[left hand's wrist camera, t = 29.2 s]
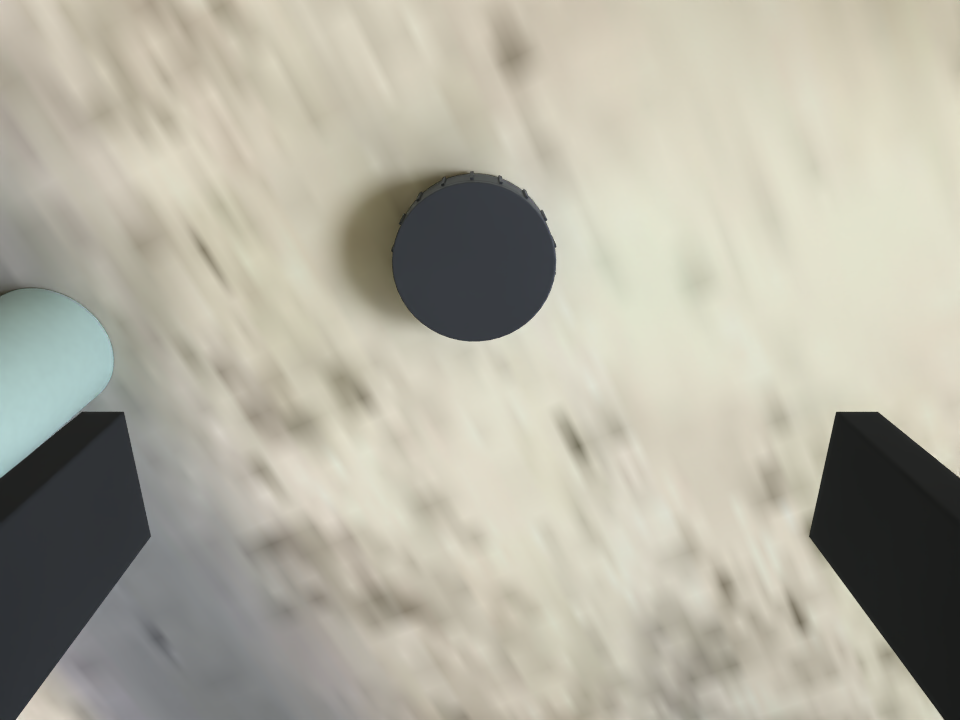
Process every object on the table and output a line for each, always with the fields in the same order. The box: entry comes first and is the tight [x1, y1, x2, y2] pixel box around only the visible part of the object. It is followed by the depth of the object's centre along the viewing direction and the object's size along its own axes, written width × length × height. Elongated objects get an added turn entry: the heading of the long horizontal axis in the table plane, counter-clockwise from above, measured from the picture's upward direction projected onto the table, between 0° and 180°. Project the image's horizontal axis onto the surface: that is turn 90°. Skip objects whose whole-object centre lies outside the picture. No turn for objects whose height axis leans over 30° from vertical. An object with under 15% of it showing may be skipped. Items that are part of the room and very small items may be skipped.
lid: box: [392, 171, 556, 341], centre depth 24 cm, size 6×6×2 cm
